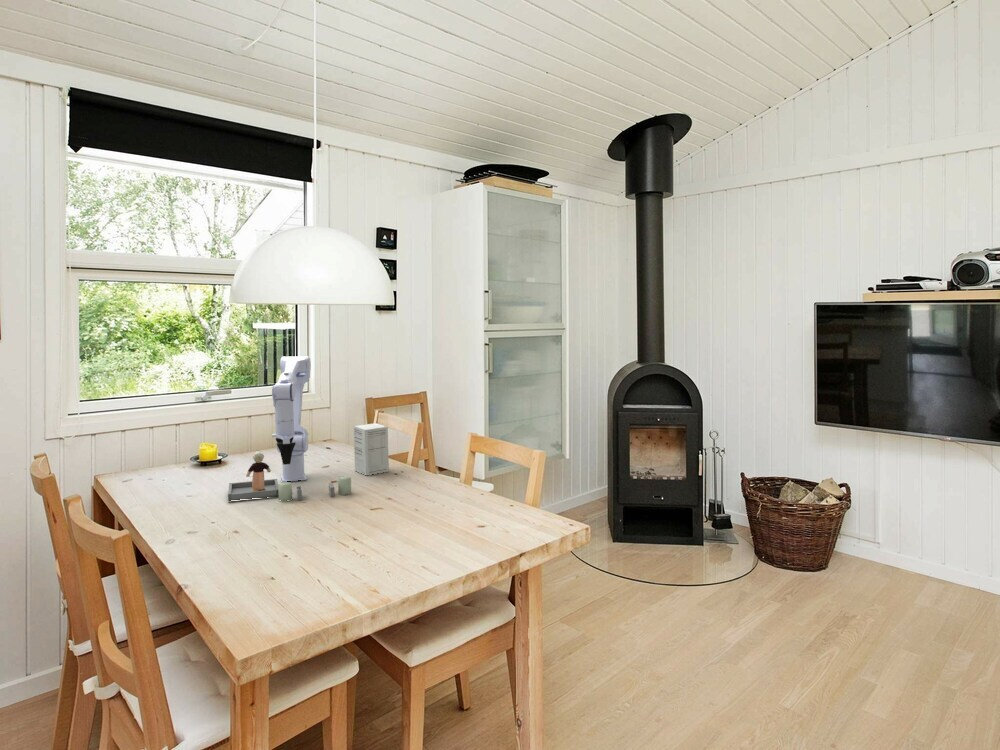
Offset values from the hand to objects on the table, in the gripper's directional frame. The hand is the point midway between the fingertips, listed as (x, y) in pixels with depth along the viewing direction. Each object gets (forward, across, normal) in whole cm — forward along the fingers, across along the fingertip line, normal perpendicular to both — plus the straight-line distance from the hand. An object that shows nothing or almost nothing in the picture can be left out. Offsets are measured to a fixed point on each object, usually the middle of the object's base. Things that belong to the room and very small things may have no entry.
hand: (285, 461), depth 200 cm
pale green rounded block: (+9, +11, -1) cm, 15 cm away
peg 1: (+10, +11, +17) cm, 22 cm away
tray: (+9, +1, -10) cm, 14 cm away
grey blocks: (+9, +11, +8) cm, 17 cm away
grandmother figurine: (+9, +1, -8) cm, 12 cm away
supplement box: (+10, -13, +30) cm, 34 cm away
